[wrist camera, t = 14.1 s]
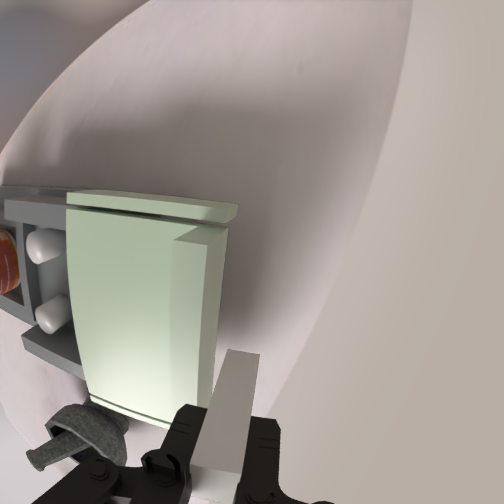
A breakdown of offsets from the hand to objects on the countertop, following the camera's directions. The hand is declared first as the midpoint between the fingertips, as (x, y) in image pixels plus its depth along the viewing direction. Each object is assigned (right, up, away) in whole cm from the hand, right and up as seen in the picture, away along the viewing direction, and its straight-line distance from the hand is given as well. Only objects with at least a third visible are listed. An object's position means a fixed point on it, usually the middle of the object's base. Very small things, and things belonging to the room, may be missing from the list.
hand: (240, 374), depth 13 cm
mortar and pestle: (-18, -14, +14) cm, 26 cm away
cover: (-6, +2, +4) cm, 7 cm away
